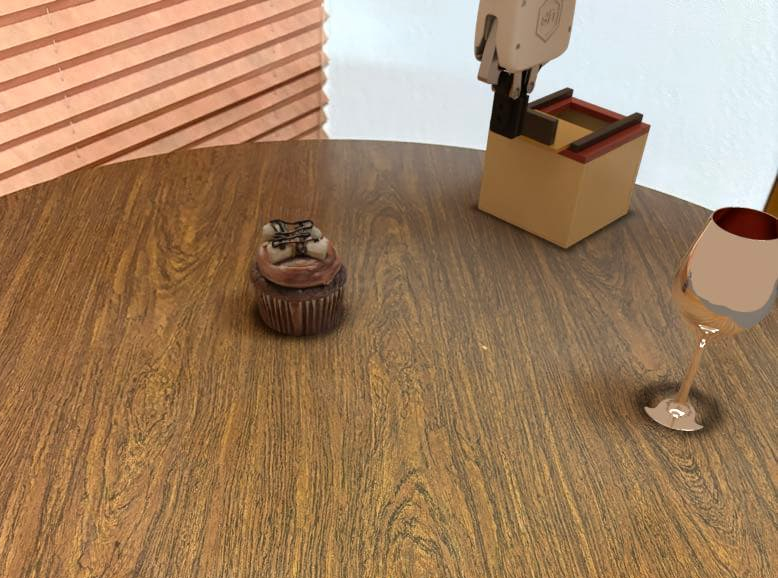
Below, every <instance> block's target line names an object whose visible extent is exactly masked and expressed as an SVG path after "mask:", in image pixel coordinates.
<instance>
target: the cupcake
mask: <svg viewBox="0 0 778 578" xmlns="http://www.w3.org/2000/svg"><path fill="white" fill-rule="evenodd" d="M289 225H290V226H294V228H293V229H294V230H289V228H288V226H289ZM297 225H298V226H297ZM314 225H315V223H314V221H313V220H311V219H300V220H296V221H294V222H289V221H285V220H283V219H280V218H275V217H273V218H272V220H270V221H268V223H267V224H265V225H263V227H262V232H261V234H262V235H261V237H262V238H263V241H262V242H261V243H260V245H259V246H258V249H257V252H256V257H254V258H253V260H252V262H251V264H250V267H249V274H248V275H249V282H250V285H251V288H252V291H253V292H254V295H255V298H256V301H257V305H258V309H259V313H260V317H261V319H262V321H264V323H265V324H266V325H267V326H268V327H269V328H270V329H271V330H274V331H275V332H278V333H281V334H283V335H288V336H294V337H303V336H308V337H309V336H315V335H319V334H321V333H324V332H325V331H328V330H330V329H331V328H333V326H334V325H336V323H337V322H338V320H339V317H340V315H341V309H342V305H343V301H344V297H345V293H346V289H347V286H348V280H349V279H348V278H349V275H348V274H349V273H348V268H347V265H346V264H343V262H342V258H341V256H340V253H339V251H338V250H337V249H336V247H335V246H334V244H332V242H331V241H330V240H329V239H328V238H327V237H325V236H324V235H323V234H322V232H321V230H320V229H319V228H317V227H316V226H314Z"/></svg>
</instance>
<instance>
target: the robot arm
mask: <svg viewBox="0 0 778 578" xmlns="http://www.w3.org/2000/svg"><path fill="white" fill-rule="evenodd" d="M576 4H577V0H479V3H478V9H477V14H476V15H477V16H476V23H475V31H474V42H473V54H474V55H473V56H474V58H475V60H476V61H478V62H480V64H479V67H478V72H477V76H476V78H477V81H479V82H482V83H484V84H487V85H490V88H491V89H490V90H491V91H492V92H493V99H492V105H491V106H492V107H491V113H490V119H491V120H490V119H489V125H490V130H491V131H492V132H494V133H496V134H499V135H501V136H504V137H506V138H508V139H514V138H516V137H518V136H521V135H522V134H523V131H524V125H525V119H526V113H527V108H528V103H530V101H529V100H530V94H532V93H533V92H534V89H535V87H536V82H537V78H538V74H539V72H540V71H541V69H542V68H543V67H545V66H546V65H547V64H549V62H551V61H553V60H555V59H558V58H559V57H560V56H562V55H563V54H564V53H565V52H566V51H567V50H568V48H569V45H570V41H571V36H572V29H573V24H574V17H575V11H576Z"/></svg>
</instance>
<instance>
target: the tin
mask: <svg viewBox="0 0 778 578" xmlns="http://www.w3.org/2000/svg"><path fill="white" fill-rule="evenodd" d="M574 91H575V90H574V89H573V88H572V87H571V88H570V87H565V88H562V89H559V90H557V91H555V92H552V93H549V94H547V95H545V96H542V97H539V98H537V99H535V100H532V101H529V102H528V108H530V109H533V110H538V111H540V112H543V113H546V114H548V115H551V116H554V117H556V118H559V119H561V120H564V121H567V122H569V123H572V124H575V125H577V126H580V127H582V128H585V129H588V130H590V131H593V133H591V134H589V135H587V136H585V137H582V138H580V139H578V140H576V141H574V142H572V143H571V145H570V147H569V148H567V149H565V150H563V151H561V152H559V153H557V154H555V153H552V152H550V151H547V150H545V149H542V148H540V147H538V146H535V145H533V144H530V143H528V142H525V141H523V140H520V139H518V138H514V139H508V138H506V137H504V136H501V135H499V134H496V133H494V132H492V131H491V130H490V124H489V127H488V133H487V138H486V140H487V141H486V147H485V154H484V161H483V169H482V175H481V182H480V183H481V184H480V190H479V197H478V206H477V209H479V210H481V211H483V212H485V213H487V214H490V215H491V216H494V217H496V218H498V219H500V220H503V221H505V222H507V223H509V224H511V225H514V226H516V227H517V228H520V229H522V230H524V231H526V232H529V233H531V234H533V235H535V236H537V237H539V238H541V239H543V240H545V241H547V242H550V243H552V244H553V245H557V246H559V247H560V248H563V249H565V250H566V249H568V248H569V247H572V246H573V245H574V244H576V243H578V242H579V241H581V240H584V239H585V238H587V237H588V236H590V235H592V234H594V233H596V232H597V231H599V230H600V229H602V228H604V227H605V226H607V225H609V224H611V223H612V222H614V221H616V220H618V219H620V218H621V217H623V216H625V215H627V214H628V211H629V207H630V204H631V201H632V196H633V193H634V189H635V185H636V182H637V178H638V174H639V170H640V167H641V164H642V160H643V156H644V152H645V148H646V145H647V142H648V137H649V135H650V130H651V124H649V123H647V122H643V120H644V119H643V118H644V114H643V113H640V112H638V111H636V112H633V113H631V114H629V115H624V114H621V113H618V112H616V111H613V110H610V109H608V108H605V107H603V106H599V105H597V104H594V103H592V102H588V101H586V100H583V99H580V98H578V97H575V96H573V95H574ZM490 120H491V118H490V119H489V121H490Z"/></svg>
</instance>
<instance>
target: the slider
mask: <svg viewBox="0 0 778 578" xmlns="http://www.w3.org/2000/svg"><path fill="white" fill-rule="evenodd" d="M591 133H593V131H590V130H588V129H585V128H582V127H580V126H577V125H575V124H572V123H569V122H567V121H564V120H561V119H559V118H556V117H554V116H551V115H548V114H546V113H543V112H540V111H538V110H533V109H530V108H527V113H526V119H525V125H524V131H523V134H522V135H521V136H518V137H516V138H518V139H520V140H523V141H525V142H528V143H530V144H533V145H535V146H538V147H540V148H542V149H545V150H547V151H550V152H552V153H555V154H557V153H559V152H561V151H563V150H565V149H567V148H569V147H570V145H571V143H572V142H574V141H576V140H578V139H580V138H582V137H585V136H587V135H589V134H591Z"/></svg>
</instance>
